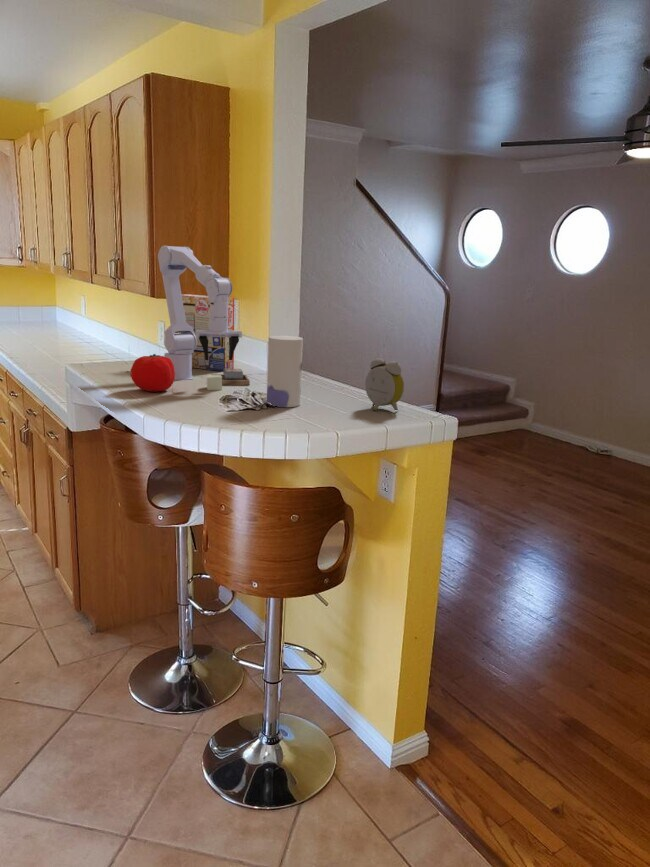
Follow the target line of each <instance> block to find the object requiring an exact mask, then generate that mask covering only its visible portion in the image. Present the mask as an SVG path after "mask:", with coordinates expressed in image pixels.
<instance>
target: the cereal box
mask: <svg viewBox="0 0 650 867" xmlns="http://www.w3.org/2000/svg"><path fill="white" fill-rule="evenodd" d="M182 300H183V306H184V312H185V318H186V323H187V324H188V325H189V326H191V327H192V328H193V331H194V334H195V331H196V330H210V302H209V300H208V295H201V294H200V295H199V294H182ZM228 330H229V331H235V297H230V296H228ZM213 335H215V334H213ZM196 338H197V346H196V349H195V350H194V353H192V369H194V368H195V369H203V370H209V371H215V372H217V371H218V372H223V369H235V364H234V363H235V360H234V359H235V353H234V354H233V358H232V360H229V338H230V337H207V338H208V360H205V355H204V351H203V347H202V345H201V342H200V340H199V337H196Z"/></svg>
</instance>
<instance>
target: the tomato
mask: <svg viewBox="0 0 650 867" xmlns="http://www.w3.org/2000/svg"><path fill="white" fill-rule="evenodd" d="M164 356H166V355H159V354H156V353H153V354H150V355H143V356H140V357H138V358H136V359H134V362H133V363H132V364H131V365H132V366H131V369H130V377H131V380H132V383H134V385H135V386H136V387H138V388H139V389H140V390H142V391H147V392H162V391H167V390H169V389H170V388H171V387H172V385H173V384H174V382H175V381H176V380H175V370H174V365H173V363H172V361H171V360H170V359H169V358H167V357H164Z"/></svg>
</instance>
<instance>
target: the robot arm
mask: <svg viewBox="0 0 650 867" xmlns="http://www.w3.org/2000/svg"><path fill="white" fill-rule="evenodd" d="M157 259H158V264H159V265H158V266H159V272H160V273H161V276H162V281H163V288H164V292H165V298H166V305H167V311H168V316H169V317H168V318H169V323H170V325H169V326H168V327H167V329H165V331H164V342H163V343H164V347H165V349H166V350H167V352H164V355H166V356H164V355H163V356H164V357H167V358H169V359H170V360H171V361H172V363H173V365H174V370H175V380H174V381H177V380H179V381H180V380H181V381H183V380H184V381H185V380H186V381H187V380H188V381H192V380H193V381H194V376H193V372H192V371H193V368H192V353H194V350H195V349H196V346H197V338H196V337H199V340H200V342H201V345H202V347H203V351H204V355H205V360H208V338H207V337H230V338H229V360H232V358H233V354H234V355H235V350H236V348H237V346H238V343H239V341H240V338H241V339H242V338H243V332H242V330H234V331H229V330H228V297H230V296H231V295H232V293H233V283H232V281H231V280H230V278H229V277H222V276H220V274H219V273H218V272H216V270H214V269H213V268H212V267H213V266H211V265H209V264H208V265H207V264H204V265H203V264H202V262H201V261H199V259H197V257H196V256H195V255H194V250H192V249H191V248H190V247H189V246H172V245H170V246H169V245H165V244H163V245H162V246H161V247H160V248H159V251H158V254H157ZM187 268H188V269H189V270H191V272H193V273H194V275H195V279H196V280H197V282H199V283H200V284H201V285H203V287H204V288H205V291H206V293H207V296H208V300H209V302H210V330H196V331H195V334H194V331H193V328H192V327H191V326H189V325H188V324H187V323H186V318H185V312H184V306H183V300H182V295H183V294H182V290H181V289H182V288H181V282H180V275H181V274H184V273H185V271H186V270H187ZM213 334H215V335H213Z"/></svg>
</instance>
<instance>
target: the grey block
mask: <svg viewBox="0 0 650 867" xmlns="http://www.w3.org/2000/svg"><path fill="white" fill-rule="evenodd" d="M222 374H223V380H243V375H244V371H243V370H242V369H241V368H234V369H223V371H222Z"/></svg>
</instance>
